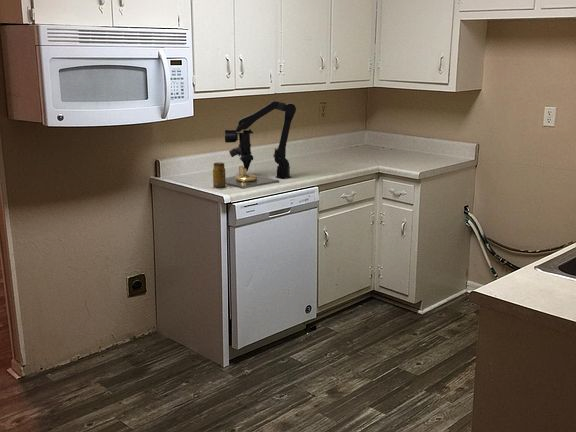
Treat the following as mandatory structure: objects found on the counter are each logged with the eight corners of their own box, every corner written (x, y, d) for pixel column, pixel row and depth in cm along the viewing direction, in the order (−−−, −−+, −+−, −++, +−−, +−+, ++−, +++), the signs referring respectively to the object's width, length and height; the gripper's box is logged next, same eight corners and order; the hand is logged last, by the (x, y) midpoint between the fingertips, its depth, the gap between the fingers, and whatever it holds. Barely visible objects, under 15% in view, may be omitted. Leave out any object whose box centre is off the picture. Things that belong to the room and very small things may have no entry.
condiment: (220, 185, 320) (219, 161, 317) (231, 187, 314) (231, 163, 311) (209, 187, 314) (208, 163, 311) (220, 189, 309) (219, 165, 306)
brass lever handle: (241, 175, 339) (241, 165, 338) (263, 179, 328) (263, 169, 327) (224, 178, 330) (223, 168, 329) (246, 182, 319) (246, 172, 318)
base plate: (250, 175, 344) (250, 173, 343) (279, 182, 326) (279, 179, 326) (213, 181, 328) (213, 179, 328) (242, 188, 311) (242, 186, 311)
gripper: (228, 140, 341) (229, 169, 344) (231, 145, 323) (232, 175, 327) (248, 139, 342) (250, 168, 346) (252, 144, 324) (254, 174, 328)
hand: (246, 171), depth 337 cm, fingers closed
